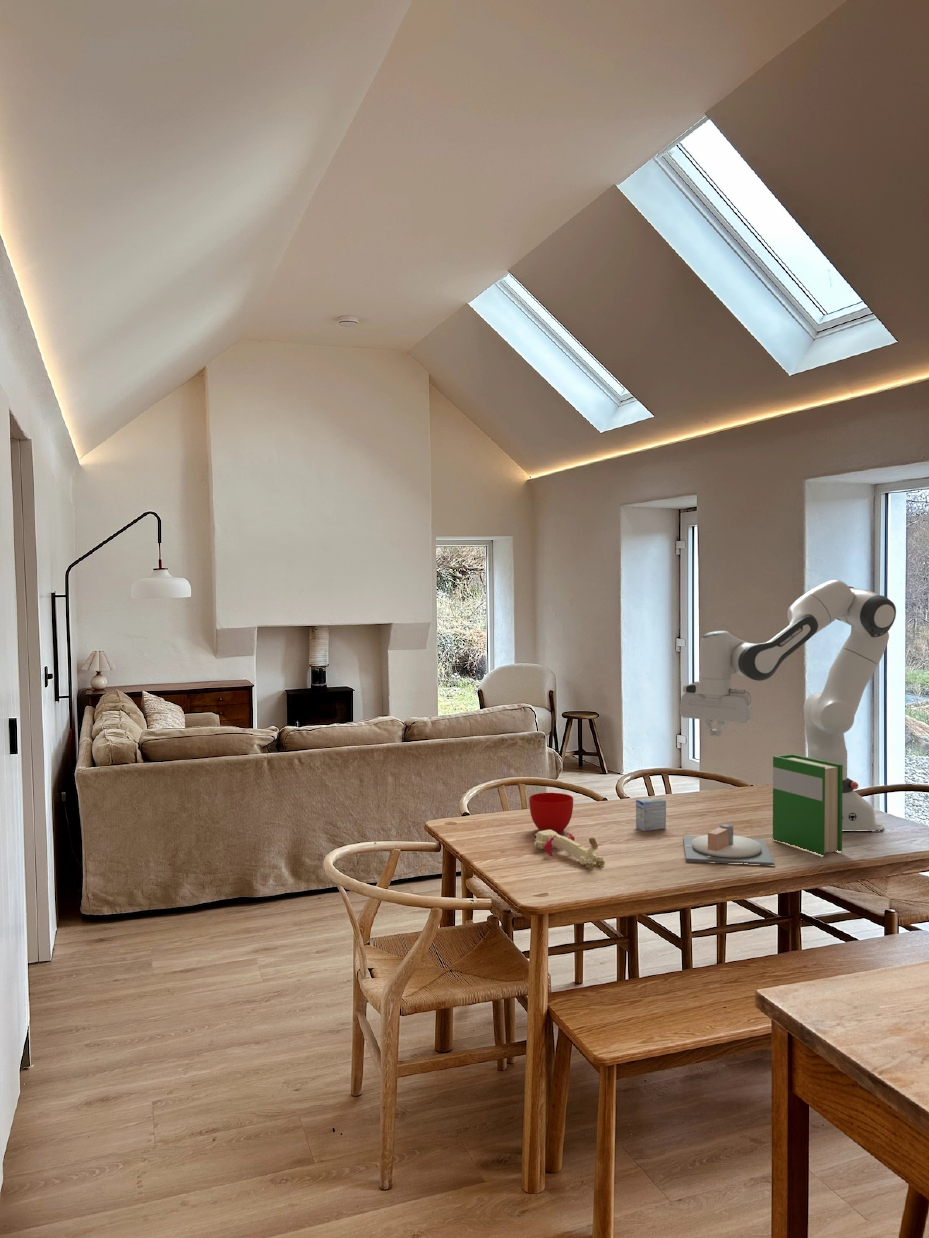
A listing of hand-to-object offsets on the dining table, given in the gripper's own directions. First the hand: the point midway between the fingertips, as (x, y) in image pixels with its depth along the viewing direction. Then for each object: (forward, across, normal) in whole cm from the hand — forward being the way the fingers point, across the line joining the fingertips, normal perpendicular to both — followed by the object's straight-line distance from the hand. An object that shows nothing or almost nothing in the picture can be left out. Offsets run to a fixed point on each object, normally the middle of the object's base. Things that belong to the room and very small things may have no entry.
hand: (714, 735), depth 262 cm
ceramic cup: (+29, +42, +21) cm, 55 cm away
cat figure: (+30, +24, +41) cm, 56 cm away
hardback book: (+29, -24, -6) cm, 38 cm away
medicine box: (+29, +19, +3) cm, 35 cm away
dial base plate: (+29, -9, +12) cm, 33 cm away
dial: (+28, -9, +12) cm, 32 cm away
